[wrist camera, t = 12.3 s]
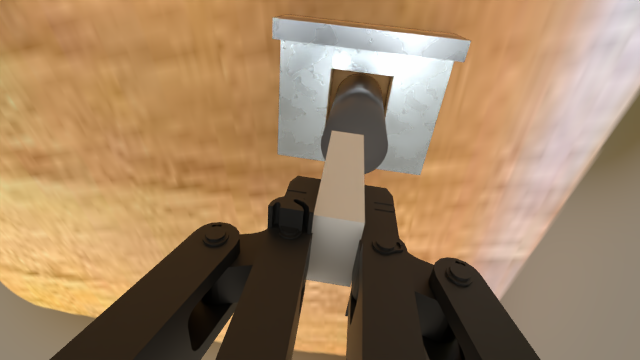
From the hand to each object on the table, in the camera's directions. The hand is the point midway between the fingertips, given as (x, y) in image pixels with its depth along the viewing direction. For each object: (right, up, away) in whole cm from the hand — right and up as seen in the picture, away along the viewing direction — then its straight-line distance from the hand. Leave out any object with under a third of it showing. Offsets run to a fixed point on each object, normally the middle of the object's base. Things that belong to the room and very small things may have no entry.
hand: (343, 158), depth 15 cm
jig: (+3, +8, +18) cm, 20 cm away
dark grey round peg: (+3, +8, +18) cm, 20 cm away
